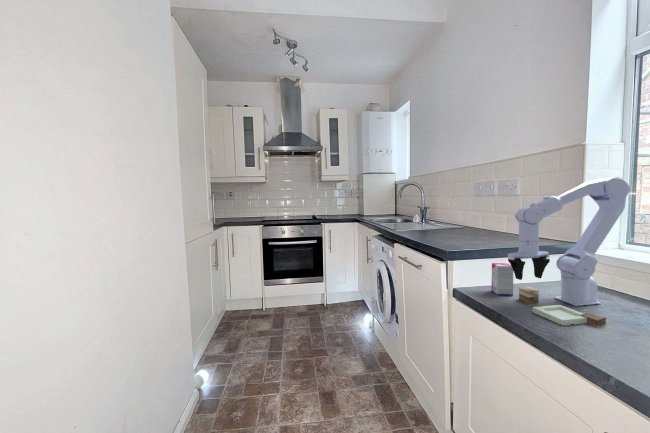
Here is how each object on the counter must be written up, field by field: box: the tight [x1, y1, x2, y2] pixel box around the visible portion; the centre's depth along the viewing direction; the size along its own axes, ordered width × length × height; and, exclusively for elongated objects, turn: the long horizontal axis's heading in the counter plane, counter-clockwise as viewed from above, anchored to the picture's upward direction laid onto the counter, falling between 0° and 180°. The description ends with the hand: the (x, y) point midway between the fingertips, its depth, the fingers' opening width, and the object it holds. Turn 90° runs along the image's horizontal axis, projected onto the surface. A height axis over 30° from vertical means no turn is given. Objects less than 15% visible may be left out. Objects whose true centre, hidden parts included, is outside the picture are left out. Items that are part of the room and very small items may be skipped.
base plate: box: [532, 304, 588, 326], centre depth 85 cm, size 10×10×2 cm
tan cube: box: [518, 286, 540, 304], centre depth 99 cm, size 4×4×4 cm
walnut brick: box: [581, 311, 607, 327], centre depth 80 cm, size 4×4×2 cm
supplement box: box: [491, 262, 514, 297], centre depth 107 cm, size 6×6×12 cm
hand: (528, 278), depth 99 cm, fingers open, 7 cm apart
